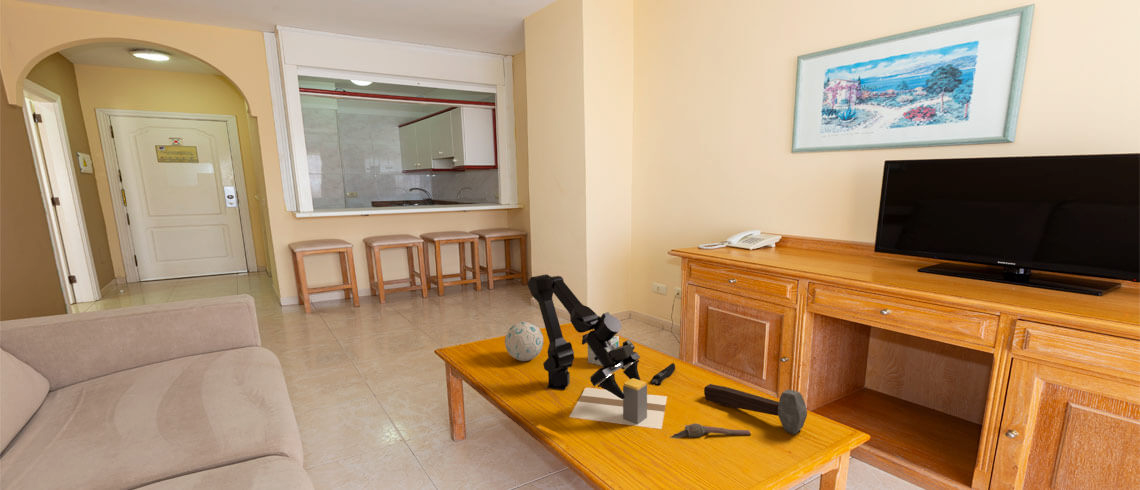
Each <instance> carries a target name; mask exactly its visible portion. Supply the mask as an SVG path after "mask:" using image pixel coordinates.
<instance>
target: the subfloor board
mask: <svg viewBox="0 0 1140 490" xmlns="http://www.w3.org/2000/svg"><path fill="white" fill-rule="evenodd" d="M667 399H668V395H667V396H666V395H665V396H664V395H657V394H655V395H654V394H648V393H647V418H646V419H644V420H643V421H642V422H640V423H639V424H638V425H637V424H635V423H632V422H630V421H627V420H625V419H623V399H621V398H619V397H617V396H616V395H614V394H612V393H611V392H609V391H607V390H605V389H603V388H596V387H595V388H593V387H585V388H584V390H583V392H582V393H581V395H580V397H579V399H578V401H577V402H576V403H575V406H574V407H573V409H572V410H571V413H570V414H569V416H568V417H569V418H573V419H581V420H589V421H598V422H604V423H605V422H606V423H612V424H619V425H620V424H621V425H628V426H636V427H640V428H641V427H642V428H648V429H649V428H650V429H659V430H662V428H663V423H664V417H665V412H666V404H667Z"/></svg>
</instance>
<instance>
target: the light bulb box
mask: <svg viewBox="0 0 1140 490" xmlns="http://www.w3.org/2000/svg"><path fill="white" fill-rule="evenodd" d="M609 343H610V344H611V345H613V344H614V345H616V346H617V347H620V336H619V335H615V336H614V337H613V338H612V339H611V340H610V341H609ZM595 357H596V355H595V354H594V352H593V351H592V350H591V348H590V347H589V345H588V344H587V364H593V365H597V366H601V367H603V366H602V364H601V363H600V361H599V360H597V361H595V359H594V358H595Z"/></svg>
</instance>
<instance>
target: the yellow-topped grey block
mask: <svg viewBox="0 0 1140 490" xmlns="http://www.w3.org/2000/svg"><path fill="white" fill-rule="evenodd" d="M622 392H623V394H624V396H625V398H624V399H623V419H625V420H627V421H630V422H632V423H635V424H637V425H638V424H639V423H640V422H642V421H643V420H644V419H646V418H647V394H648V384H647V382H646V381H643V380H641V379H640V380H637V379H634V378H632V379H629V380H627V381H625V382H624V383H623V386H622Z"/></svg>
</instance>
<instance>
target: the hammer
mask: <svg viewBox="0 0 1140 490" xmlns="http://www.w3.org/2000/svg"><path fill="white" fill-rule="evenodd" d="M703 394H704V398H705V400H706V401H708V402H710V403H714V404H717V405H721V406H725V407H730V408H734V409H738V410H745V411H751V412H756V413H761V414H766V415H773V416H778V418H779V421H780V423H781V425H782V427H783V429H784V431H785V432H786V433H789V434H791V435H796V434H797V433H799V432H800V431H801V430H802V428H804V425H805V422H806V420H807V417H808V410H807V406H806V402H805V400H804V398H803V395H802V394H801V392H800V391H797V390H794V389H793V390H792V389H785V390H784V391H783V392H781V394H780V397H779V400H778V401H777V400H774V399H769V398H767V397H763V396H759V395H756V394H753V393H749V392H745V391H741V390H739V389H735V388H732V387H728V386H723V385H717V384H713V383H709V384H707V385H706V386H704V388H703Z"/></svg>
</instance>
